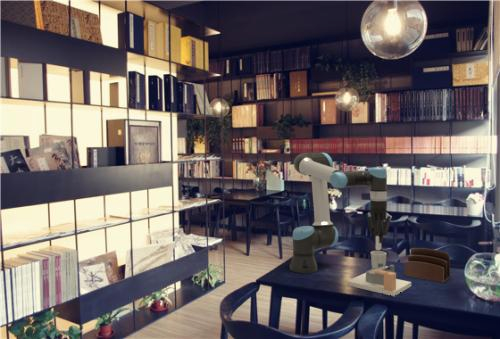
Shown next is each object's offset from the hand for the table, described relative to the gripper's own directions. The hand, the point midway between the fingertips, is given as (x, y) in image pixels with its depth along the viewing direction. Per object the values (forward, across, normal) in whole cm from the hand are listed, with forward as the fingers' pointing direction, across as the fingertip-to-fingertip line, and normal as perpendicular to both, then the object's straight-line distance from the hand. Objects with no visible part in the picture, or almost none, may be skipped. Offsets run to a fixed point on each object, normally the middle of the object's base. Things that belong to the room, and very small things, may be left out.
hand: (378, 249), depth 205 cm
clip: (+17, +5, -4) cm, 18 cm away
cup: (+19, -10, +20) cm, 29 cm away
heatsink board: (+19, -2, +4) cm, 19 cm away
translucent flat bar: (+12, -2, +4) cm, 12 cm away
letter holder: (+19, +10, +33) cm, 40 cm away
